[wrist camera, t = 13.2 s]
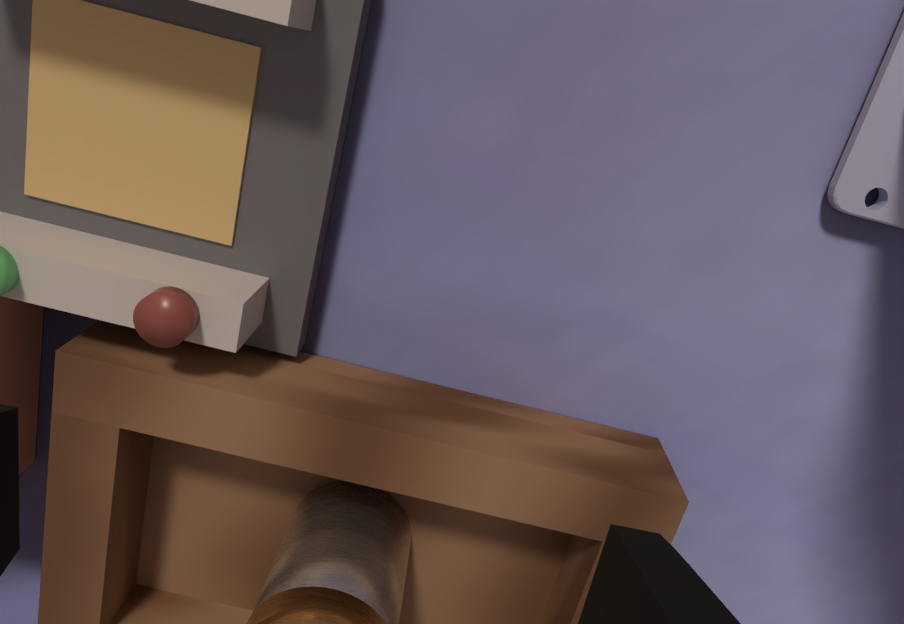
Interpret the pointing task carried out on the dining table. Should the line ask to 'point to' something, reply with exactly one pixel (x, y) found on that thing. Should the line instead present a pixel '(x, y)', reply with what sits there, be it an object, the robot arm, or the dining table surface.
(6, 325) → the small wooden tray
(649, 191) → the dining table surface
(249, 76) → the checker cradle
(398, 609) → the cell
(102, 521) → the trough
